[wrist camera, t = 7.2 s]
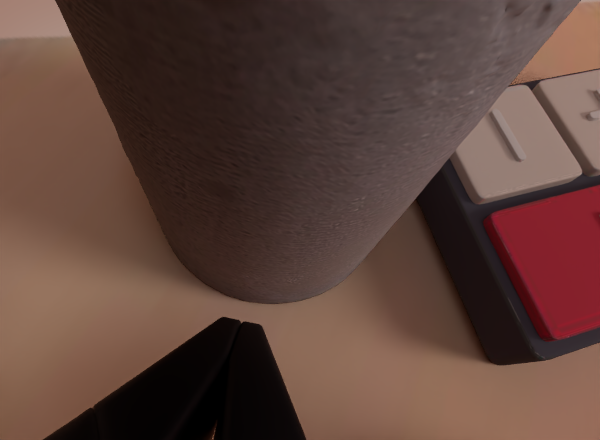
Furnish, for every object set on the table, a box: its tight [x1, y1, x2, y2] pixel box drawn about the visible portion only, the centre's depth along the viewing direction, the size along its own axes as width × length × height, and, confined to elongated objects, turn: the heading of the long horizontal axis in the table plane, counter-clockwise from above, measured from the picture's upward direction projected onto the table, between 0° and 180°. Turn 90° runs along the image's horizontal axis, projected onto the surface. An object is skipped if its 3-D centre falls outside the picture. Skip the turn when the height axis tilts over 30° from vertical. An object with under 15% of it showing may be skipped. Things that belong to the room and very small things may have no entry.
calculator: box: [417, 68, 600, 365], centre depth 17 cm, size 11×4×15 cm
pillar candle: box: [55, 0, 581, 304], centre depth 11 cm, size 10×10×15 cm
